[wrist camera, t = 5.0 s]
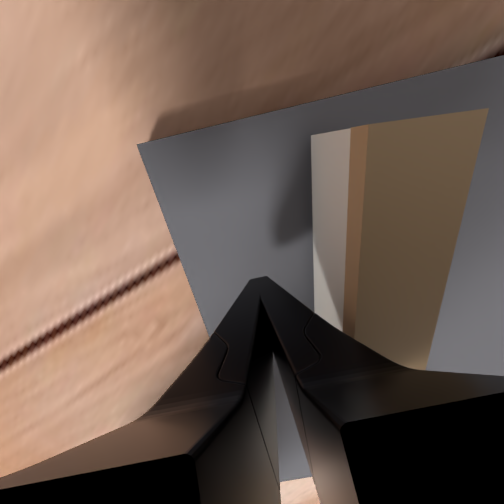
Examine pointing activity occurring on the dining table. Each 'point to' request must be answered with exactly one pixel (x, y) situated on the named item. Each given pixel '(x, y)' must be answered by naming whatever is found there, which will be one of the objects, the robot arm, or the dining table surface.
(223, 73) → the dining table surface
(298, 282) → the mat
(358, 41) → the dining table surface
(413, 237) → the panel
